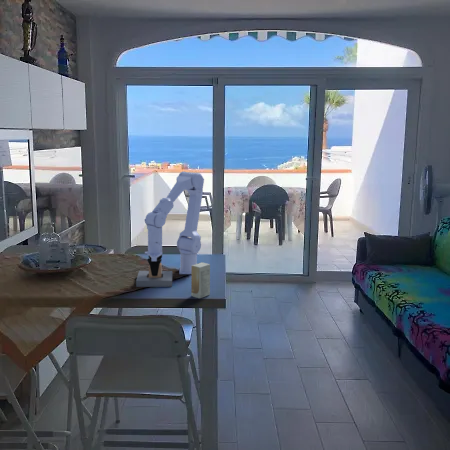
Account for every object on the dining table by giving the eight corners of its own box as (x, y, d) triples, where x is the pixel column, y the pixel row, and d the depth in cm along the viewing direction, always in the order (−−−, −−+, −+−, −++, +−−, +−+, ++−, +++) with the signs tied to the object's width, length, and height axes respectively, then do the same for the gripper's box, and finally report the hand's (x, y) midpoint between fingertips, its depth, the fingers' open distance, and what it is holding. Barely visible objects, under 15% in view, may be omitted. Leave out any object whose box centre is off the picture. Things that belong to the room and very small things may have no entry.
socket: (139, 276, 205) (139, 270, 204) (172, 276, 206) (172, 270, 206) (136, 286, 191) (136, 280, 191) (171, 286, 192) (171, 280, 192)
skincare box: (201, 292, 186) (202, 261, 184) (210, 295, 184) (211, 263, 182) (190, 296, 182) (190, 264, 179) (198, 299, 179) (199, 267, 177)
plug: (149, 276, 200) (149, 258, 199) (161, 276, 201) (161, 259, 199) (148, 279, 196) (148, 261, 195) (161, 279, 197) (161, 261, 195)
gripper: (146, 237, 202) (146, 269, 205) (143, 245, 188) (143, 279, 191) (163, 237, 203) (163, 269, 205) (161, 245, 189) (161, 279, 191)
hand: (155, 274), depth 198 cm, fingers closed on plug, 4 cm apart
